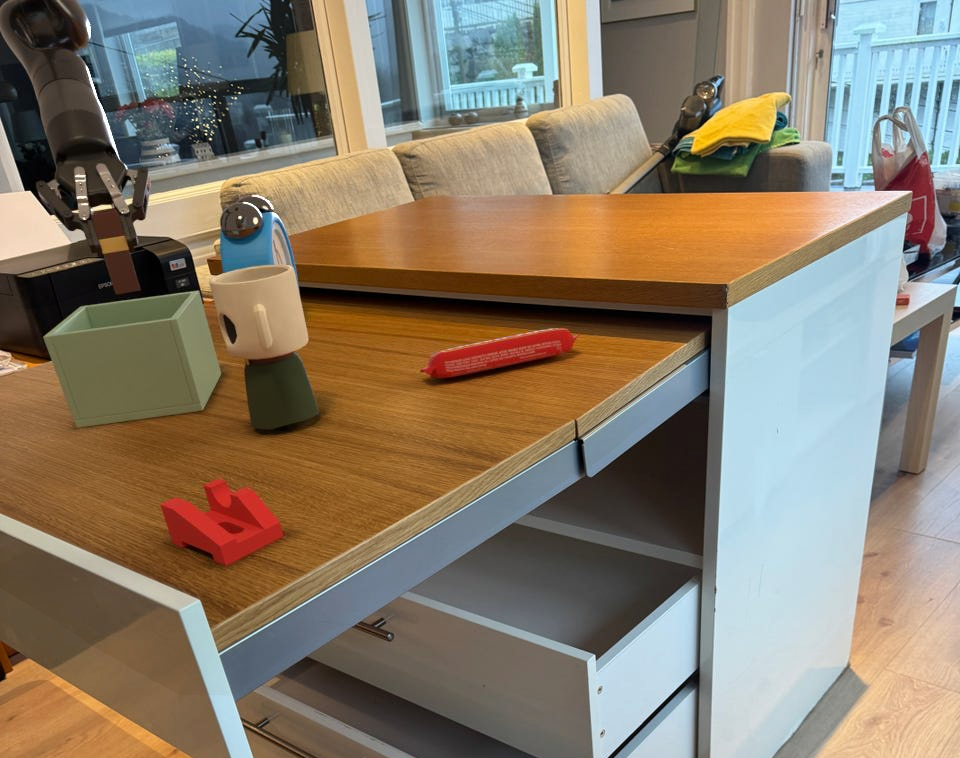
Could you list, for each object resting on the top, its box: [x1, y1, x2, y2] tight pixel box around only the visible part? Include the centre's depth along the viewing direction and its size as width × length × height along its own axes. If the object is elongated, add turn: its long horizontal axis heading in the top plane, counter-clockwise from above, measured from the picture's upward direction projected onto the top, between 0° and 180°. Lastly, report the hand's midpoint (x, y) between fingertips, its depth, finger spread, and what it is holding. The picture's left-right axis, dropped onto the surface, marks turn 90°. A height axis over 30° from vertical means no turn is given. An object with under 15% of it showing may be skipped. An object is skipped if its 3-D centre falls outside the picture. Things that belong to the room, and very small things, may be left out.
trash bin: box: [43, 290, 222, 429], centre depth 90 cm, size 12×12×9 cm
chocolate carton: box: [90, 207, 141, 296], centre depth 110 cm, size 4×3×9 cm
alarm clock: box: [219, 194, 300, 290], centre depth 108 cm, size 13×6×15 cm, turn 0°
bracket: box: [159, 478, 284, 567], centre depth 62 cm, size 6×5×3 cm
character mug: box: [208, 265, 320, 430], centre depth 78 cm, size 11×7×13 cm, turn 13°
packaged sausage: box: [419, 327, 580, 379], centre depth 88 cm, size 16×4×3 cm, turn 108°
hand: (115, 249), depth 108 cm, fingers closed on chocolate carton, 3 cm apart
